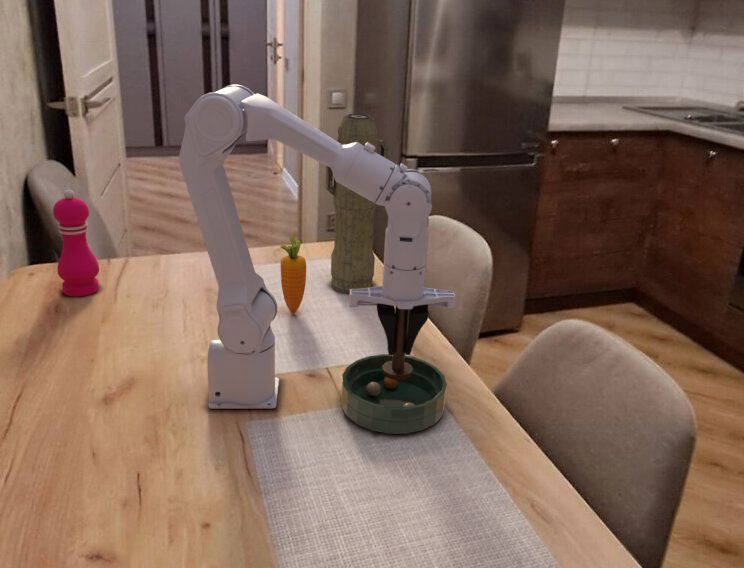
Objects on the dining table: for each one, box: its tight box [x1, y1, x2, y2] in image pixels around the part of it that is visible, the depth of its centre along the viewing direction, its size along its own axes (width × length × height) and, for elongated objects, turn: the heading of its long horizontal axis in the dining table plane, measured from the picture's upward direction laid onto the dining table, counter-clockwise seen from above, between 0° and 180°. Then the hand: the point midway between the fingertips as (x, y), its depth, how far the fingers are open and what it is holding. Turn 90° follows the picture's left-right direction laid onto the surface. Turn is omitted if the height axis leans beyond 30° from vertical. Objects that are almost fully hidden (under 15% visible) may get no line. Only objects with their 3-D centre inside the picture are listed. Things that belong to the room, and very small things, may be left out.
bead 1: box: [366, 382, 381, 397], centre depth 100 cm, size 2×2×2 cm
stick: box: [382, 306, 413, 380], centre depth 94 cm, size 4×4×14 cm
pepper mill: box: [52, 189, 100, 297], centre depth 125 cm, size 7×7×20 cm
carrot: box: [280, 235, 307, 315], centre depth 123 cm, size 5×5×15 cm
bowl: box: [340, 353, 448, 435], centre depth 98 cm, size 15×15×4 cm
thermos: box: [325, 113, 389, 295], centre depth 133 cm, size 9×12×35 cm
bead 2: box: [384, 377, 398, 389], centre depth 102 cm, size 2×2×2 cm
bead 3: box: [403, 403, 415, 407], centre depth 95 cm, size 2×2×2 cm
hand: (398, 351), depth 95 cm, fingers closed on stick, 2 cm apart
